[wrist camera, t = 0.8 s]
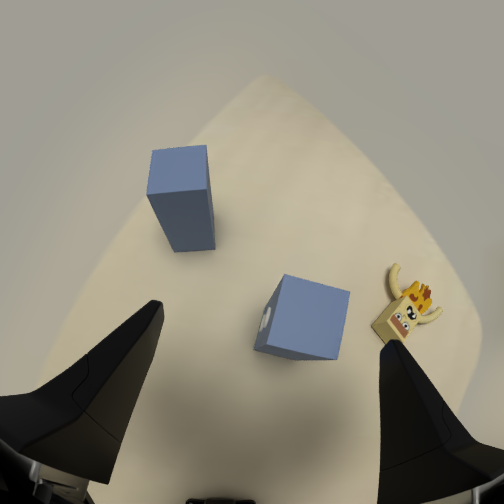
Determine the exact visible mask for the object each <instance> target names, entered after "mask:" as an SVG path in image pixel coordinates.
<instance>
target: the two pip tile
mask: <svg viewBox="0 0 504 504" xmlns="http://www.w3.org/2000/svg"><path fill="white" fill-rule="evenodd" d="M349 296H350V292H349V291H346V290H342V289H338V288H334V287H331V286H327V285H323V284H319V283H316V282H312V281H308V280H305V279H301V278H297V277H294V276H290V275H286V274H284V276H283V278H282V279H281V281H280V283H279V284H278V286H277V288H276V290H275V291H274V293H273V295H272V297H271V298H270V300H269V302H268V303H267V305H266V307H265V310H264V313H263V317H262V321H261V324H260V328H259V332H258V335H257V339H256V342H255V346H254V350H256V351H260V352H264V353H268V354H272V355H276V356H280V357H284V358H288V359H293V360H337V358H338V354H339V349H340V344H341V340H342V335H343V330H344V324H345V319H346V313H347V308H348V302H349Z"/></svg>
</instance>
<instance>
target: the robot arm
mask: <svg viewBox="0 0 504 504" xmlns="http://www.w3.org/2000/svg"><path fill="white" fill-rule="evenodd" d="M163 322H164V309H163V303H162V302H161V301H157V300H151V301H149V302H148V303H147V304H146V305H145V306H143V307H142V308H141V309H140V310H138V311H137V312H136V313H135V314H133V315H132V316H131V317H130V318H129V319H127V320H126V321H125V322H124V323H122V324H121V325H120V326H119V327H118V328H116V329H115V330H114V331H113V332H112V333H110V334H109V335H108V336H107V337H106V338H104V339H103V340H102V341H101V342H100V343H98V344H97V345H96V346H95V347H94V348H92V349H91V350H90V351H89V352H88V353H87V354H85V355H84V356H83V357H82V358H81V359H79V360H78V361H77V362H76V363H74V364H73V365H72V366H71V367H69V368H68V369H66V370H65V371H64V372H62V373H61V374H59V375H58V376H56V377H55V378H53V379H52V380H50V381H49V382H47V383H46V384H45V385H43V386H42V387H40V388H38V389H37V390H35V391H32V392H30V393H26V394H19V395H10V396H0V504H95V503H94V502H93V500H92V498H91V497H90V495H89V493H88V491H87V488H88V484H89V481H90V480H91V481H95V482H98V483H103V484H107V485H108V484H109V481H110V478H111V474H112V471H113V468H114V465H115V462H116V459H117V456H118V453H119V450H120V447H121V443H122V440H123V438H124V435H125V432H126V429H127V426H128V423H129V421H130V418H131V415H132V412H133V409H134V407H135V404H136V401H137V399H138V396H139V393H140V391H141V388H142V386H143V383H144V380H145V378H146V375H147V373H148V370H149V368H150V365H151V363H152V360H153V357H154V354H155V351H156V347H157V344H158V340H159V336H160V333H161V329H162V326H163ZM379 397H380V429H381V443H380V472H379V488H378V499H377V504H504V450H502V449H499V448H495V447H492V446H489V445H485V444H482V443H479V442H478V441H476V440H475V439H474V438H473V437H472V436H471V435H470V434H469V432H468V431H467V430H466V429H465V428H464V426H463V425H462V424H461V422H460V421H459V420H458V419H457V417H456V416H455V415H454V413H453V412H452V411H451V409H450V408H449V406H448V405H447V404H446V402H445V401H444V400H443V398H442V396H441V395H440V394H439V392H438V391H437V389H436V388H435V386H434V385H433V384H432V382H431V381H430V379H429V378H428V377H427V375H426V374H425V373H424V371H423V370H422V369H421V367H420V366H419V365H418V363H417V362H416V360H415V359H414V358H413V357H412V355H411V354H410V353H409V351H408V350H407V349H406V347H405V346H404V345H403V343H402V342H401V341H400V340H398V339H390V340H389V341H388V342H387V344H386V345H385V346H384V347H383V348H382V350H381V352H380V371H379ZM189 503H193V504H256V502H255V501H253V500H242V501H234V500H212V499H207V500H197V499H188V500H187V501H186V504H189Z"/></svg>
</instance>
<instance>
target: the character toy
mask: <svg viewBox="0 0 504 504" xmlns="http://www.w3.org/2000/svg"><path fill="white" fill-rule="evenodd" d="M399 270H400V266H399V265H398V264H397V263H394V264H393V266H392V267H391V270H390V273H389V285H390V289H391V291H392V294H393V296H394V297H395V299H396V300H395V301H393V302H391V303H390V305H389V306H388V307H387V308H386V309H385V311H384V312H383V313H382V314H381V315H380V317H379V318H378V319H377V320H376V321H375V322H374V323H373V325H372V327H373V329H374V330H375V331H376V332H377V334H378V335H379V336H380V337H381V339H382V340H383V341H384V342H385V344H387V342H388V341H389V340H390V339H398V340H400V341H401V342H402V343H403V342H404V341H405V340H406V338H407V337H408V336H409V334H410V333H411V331H412V330H413V329H414V327H415V326H416V324H417V323H422V324H424V323H429V322H432V321H434V320H435V319H437V318H438V317H439V316H440V315H441V313H442V312H443V309H442V308H441V307H437V308H436V310H435V311H434V312H433V313H431V314H429V315H426V316H422V314H423V313H424V312H425V311H426V310H427V309H428V308H429V307H430V306H431V304H432V299H430V294H431V290H430V289H429V288H428V287H429V286H425V285H424V284H422V285H421V289H420V290H419V282H418V281H415V282H414V283H413V284H412V285H411V286H410V287H409V288H408V289H406V290H404V291H403V292H401V290H400V288H399V286H398V281H397V276H398V272H399Z"/></svg>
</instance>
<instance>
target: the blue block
mask: <svg viewBox="0 0 504 504" xmlns="http://www.w3.org/2000/svg"><path fill="white" fill-rule="evenodd" d="M146 195H147V197H148V199H149V201H150V204H151V206H152V208H153V210H154V212H155V214H156V216H157V218H158V220H159V223H160V225H161V227H162V229H163V231H164V233H165V235H166V237H167V239H168V241H169V243H170V245H171V247H172V249H173V251H174V252H188V251H202V250H215V235H214V213H213V204H212V195H211V186H210V177H209V167H208V157H207V147H206V145H199V146H187V147H178V148H168V149H160V150H153V151H152V157H151V164H150V171H149V178H148V186H147V194H146Z"/></svg>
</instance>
